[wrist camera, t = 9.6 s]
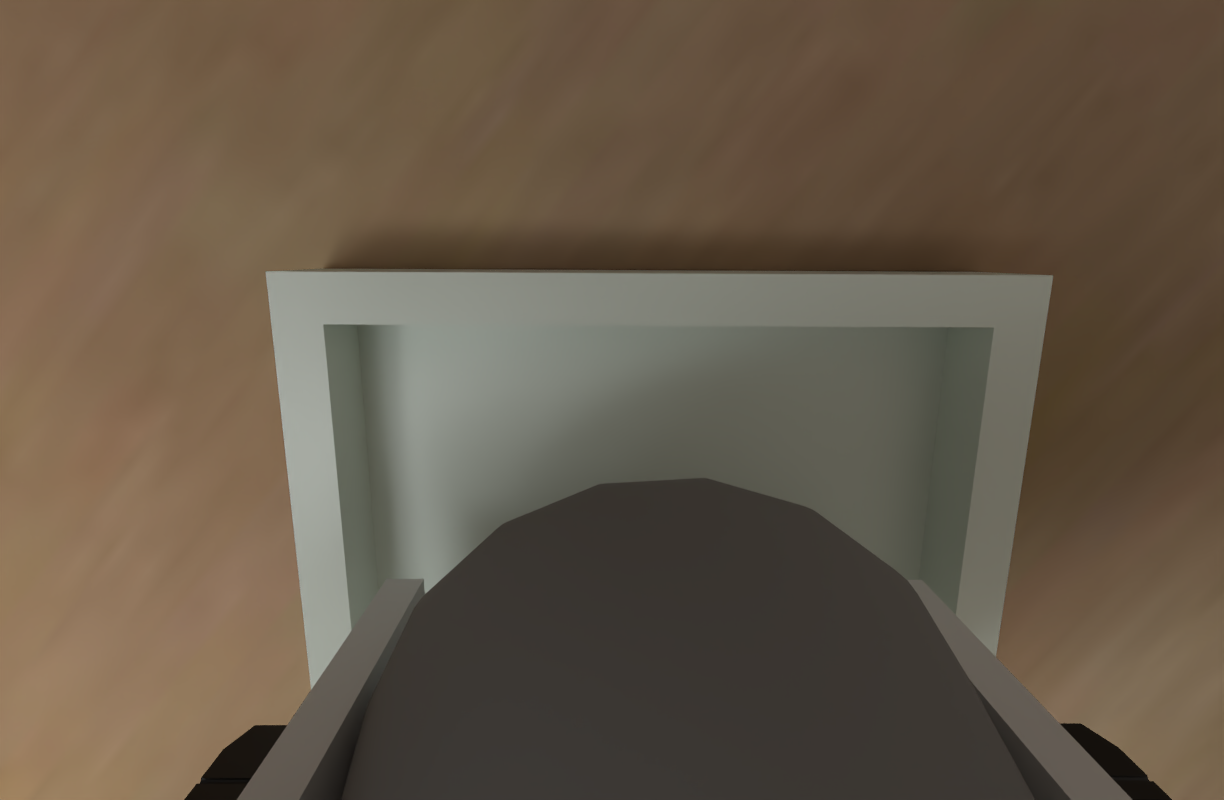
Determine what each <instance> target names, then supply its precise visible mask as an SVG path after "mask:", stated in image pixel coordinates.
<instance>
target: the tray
mask: <svg viewBox="0 0 1224 800" xmlns="http://www.w3.org/2000/svg"><path fill="white" fill-rule="evenodd" d="M266 280H267V289H268V298H269V307H270V316H271V326H272V335H273V344H274V353H275V362H276V371H277V380H278V390H279V399H280V408H281V417H282V426H283V435H284V445H285V454H286V463H287V472H288V481H289V490H290V500H291V509H292V518H293V527H294V536H295V545H296V555H297V564H298V573H299V582H300V591H301V600H302V610H303V619H304V628H305V637H306V646H307V655H308V665H309V674H310V683H311V690H312V688H313V687H314V685H315V684H316V682H317V681H318V679H319V678H320V676H321V675H322V673H323V672H324V670H325V669H326V667H327V666H328V665H329V663H330V662H331V660H332V659H333V657H334V656H335V654H336V653H337V651H338V650H339V648H340V647H341V645H342V644H343V642H344V641H345V639H346V638H347V637H348V635H349V634H350V632H351V631H352V629H353V628H354V626H355V625H356V623H357V622H358V620H359V619H360V617H361V616H362V614H363V613H364V611H365V610H366V609H367V607H368V606H369V604H370V603H371V601H372V600H373V598H374V597H375V595H376V594H377V592H378V591H379V589H380V588H381V586H382V585H383V583H384V582H385V581H386V579H424V590H425V594H426V593H427V592H428V591H429V590H430V589H431V588H432V587H434V586H435V585H436V584H437V583H438V582H439V581H440V580H441V579H442V578H443V577H444V576H446V575H447V574H448V573H449V572H450V571H451V570H452V569H453V568H454V567H455V566H457V565H458V564H459V563H460V562H461V561H462V560H463V559H464V558H465V557H466V556H468V555H469V554H470V553H471V552H472V551H473V550H474V549H475V548H476V547H477V546H478V545H480V544H481V543H482V542H483V541H484V540H485V539H486V538H487V537H488V536H489V535H491V534H492V533H493V532H494V531H495V530H496V529H497V528H498V527H500V526H501V525H502V524H504V523H506V522H508V521H510V520H513V519H515V518H518V517H520V516H523V515H525V514H527V513H530V512H532V511H535V510H537V509H540V508H542V507H545V506H547V505H549V504H552V503H554V502H557V501H559V500H562V499H564V498H566V497H569V496H571V495H574V494H576V493H579V492H581V491H584V490H586V489H588V488H591V487H593V486H596V485H598V484H605V483H622V482H640V481H658V480H676V479H693V478H708V479H711V480H715V481H718V482H722V483H725V484H729V485H732V486H736V487H739V488H743V489H746V490H750V491H753V492H757V493H760V494H764V495H767V496H771V497H774V498H778V499H781V500H785V501H788V502H792V503H795V504H799V505H802V506H805V507H808V508H810V509H812V510H814V511H816V512H817V513H819V514H820V515H821V516H823V517H824V518H825V519H827V520H828V521H829V522H831V523H832V524H833V525H835V526H836V527H838V528H839V529H840V530H842V531H843V532H844V533H846V534H847V535H848V536H850V537H851V538H852V539H854V540H855V541H857V542H858V543H859V544H861V545H862V546H863V547H865V548H866V549H867V550H869V551H870V552H871V553H873V554H874V555H876V556H877V557H878V558H880V559H881V560H882V561H884V562H885V563H886V564H888V565H889V566H890V567H892V568H893V569H895V570H896V571H897V572H898V573H899V574H901V575H902V576H903V577H904V578H905V579H906V580H923V581H924V582H925V584H926V585H927V586H928V587H929V588H930V589H931V590H932V591H933V592H934V593H935V594H936V595H937V596H938V597H939V598H940V599H941V600H942V601H943V602H944V603H945V604H946V605H947V606H948V608H949V609H950V610H951V611H952V612H953V613H954V614H955V615H956V616H957V617H958V618H959V619H960V620H961V621H962V622H963V623H964V624H965V625H966V626H967V627H968V628H969V629H970V631H971V632H972V633H973V634H974V635H975V636H976V637H977V638H978V639H979V640H980V641H981V642H982V643H983V644H984V645H985V646H986V647H987V648H988V649H989V650H990V651H991V652H992V653H993V655H994V656H995V657H996V652H997V646H998V639H999V633H1000V626H1001V619H1002V613H1003V606H1004V599H1005V593H1006V586H1007V579H1008V573H1009V566H1010V560H1011V553H1012V546H1013V540H1014V533H1015V526H1016V520H1017V513H1018V506H1019V500H1020V493H1021V486H1022V480H1023V473H1024V467H1025V460H1026V453H1027V447H1028V440H1029V433H1030V427H1031V420H1032V413H1033V407H1034V400H1035V394H1036V387H1037V380H1038V374H1039V367H1040V360H1041V354H1042V347H1043V340H1044V334H1045V327H1046V320H1047V314H1048V307H1049V301H1050V294H1051V287H1052V281H1053V275H1035V274H1014V273H993V272H905V271H708V270H511V269H303V270H283V271H266Z"/></svg>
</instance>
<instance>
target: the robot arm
mask: <svg viewBox="0 0 1224 800" xmlns="http://www.w3.org/2000/svg"><path fill="white" fill-rule="evenodd" d="M908 582H909V583H910V584H911V586H912V587H913V588H914V590H915V591H916V592H917V594H918V595H919V597H920V599H921V600H922V602H923V604H924V605H925V607H926V609H927V610H928V612H929V614H930V615H931V617H932V618H933V620H934V622H935V623H936V625H937V627H938V628H939V630H940V632H941V633H942V635H943V637H944V638H945V640H946V642H947V643H948V645H949V647H950V648H951V650H952V651H953V653H954V655H955V656H956V658H957V660H958V661H959V663H960V665H961V666H962V668H963V670H964V671H965V673H966V675H967V676H968V678H969V680H970V681H971V683H972V685H973V687H974V689H975V690H976V692H977V694H978V696H979V698H980V700H981V701H982V703H983V705H984V707H985V709H986V711H987V712H988V714H989V716H990V718H991V720H992V722H993V723H994V725H995V727H996V729H997V731H998V732H999V734H1000V736H1001V738H1002V740H1003V742H1004V743H1005V745H1006V747H1007V749H1008V751H1009V753H1010V754H1011V756H1012V758H1013V760H1014V762H1015V764H1016V765H1017V767H1018V769H1019V771H1020V773H1021V775H1022V776H1023V778H1024V780H1025V782H1026V784H1027V785H1028V787H1029V789H1030V791H1031V793H1032V795H1033V796H1034V798H1035V800H1172V799H1171V798H1170V797H1169V796H1168V795H1167V794H1166V793H1165V792H1164V791H1163V790H1162V789H1161V788H1160V787H1159V786H1158V785H1156V784H1155V783H1154V782H1153V781H1149V780H1148V778H1147V775H1146V774H1145V773H1144V772H1143V771H1142V770H1141V769H1140V768H1139V767H1138V766H1137V765H1136V764H1135V763H1134V762H1133V761H1132V760H1131V759H1130V758H1129V757H1128V756H1127V755H1126V754H1125V753H1124V752H1123V751H1121V750H1120V749H1119V748H1118V747H1117V746H1115V745H1114V744H1112V743H1111V742H1109V741H1107V740H1106V739H1104V738H1103V737H1101V736H1100V735H1098V734H1096V733H1095V732H1093V731H1092V730H1090V729H1089V728H1087V727H1086V726H1084V725H1082V724H1060V723H1059V722H1058V721H1057V720H1056V719H1055V718H1054V717H1053V716H1052V715H1051V714H1050V713H1049V712H1048V711H1047V710H1046V709H1045V708H1044V707H1043V706H1042V705H1041V704H1040V703H1039V702H1038V700H1037V699H1036V698H1035V697H1034V696H1033V695H1032V694H1031V693H1030V692H1029V691H1028V690H1027V689H1026V688H1025V687H1024V686H1023V685H1022V684H1021V683H1020V682H1019V681H1018V680H1017V679H1016V678H1015V676H1014V675H1013V674H1012V673H1011V672H1010V671H1009V670H1008V669H1007V668H1006V667H1005V666H1004V665H1003V664H1002V663H1001V662H1000V661H999V660H998V659H997V658H996V657H995V656H994V655H993V653H992V652H991V651H990V650H989V649H988V648H987V647H986V646H985V645H984V644H983V643H982V642H981V641H980V640H979V639H978V638H977V637H976V636H975V635H974V634H973V633H972V632H971V631H970V629H969V628H968V627H967V626H966V625H965V624H964V623H963V622H962V621H961V620H960V619H959V618H958V617H957V616H956V615H955V614H954V613H953V612H952V611H951V610H950V609H949V608H948V606H947V605H946V604H945V603H944V602H943V601H942V600H941V599H940V598H939V597H938V596H937V595H936V594H935V593H934V592H933V591H932V590H931V589H930V588H929V587H928V586H927V585H926V584H925V582H924V581H923V580H908ZM424 595H425V590H424V579H386V581H385V582H384V583H383V585H382V586H381V588H380V589H379V591H378V592H377V594H376V595H375V597H374V598H373V600H372V601H371V603H370V604H369V606H368V607H367V609H366V610H365V611H364V613H363V614H362V616H361V617H360V619H359V620H358V622H357V623H356V625H355V626H354V628H353V629H352V631H351V632H350V634H349V635H348V637H347V638H346V639H345V641H344V642H343V644H342V645H341V647H340V648H339V650H338V651H337V653H336V654H335V656H334V657H333V659H332V660H331V662H330V663H329V665H328V666H327V667H326V669H325V670H324V672H323V673H322V675H321V676H320V678H319V679H318V681H317V682H316V684H315V685H314V687H313V688H312V690H311V691H310V693H309V694H308V695H307V697H306V698H305V700H304V701H303V703H302V704H301V706H300V707H299V709H298V710H297V712H296V713H295V715H294V716H293V718H292V719H291V721H290V722H289V723H288V725H255V726H254V727H252V728H251V729H250V730H248V731H247V732H246V733H244V734H243V735H242V736H240V737H239V738H238V739H236V740H235V741H234V742H232V743H231V744H230V745H229V746H227V747H226V748H225V749H223V750H222V752H221V753H220V754H219V756H218V757H217V758H216V760H215V761H214V762H213V763H212V765H211V766H210V767H209V769H208V770H207V771H206V772H205V774H204V775H203V776H202V778H201V782H200V784H196V785H195V787H194V788H193V789H192V791H191V792H190V793H189V794H188V796H187V797H186V798H185V800H341V797H342V794H343V790H344V786H345V783H346V779H347V775H348V772H349V768H350V765H351V761H352V757H353V754H354V750H355V746H356V743H357V739H358V735H359V732H360V728H361V725H362V721H363V717H364V714H365V711H366V708H367V706H368V703H369V701H370V699H371V696H372V694H373V692H374V690H375V688H376V686H377V684H378V682H379V680H380V678H381V675H382V673H383V671H384V669H385V667H386V665H387V663H388V661H389V659H390V657H391V655H392V653H393V651H394V649H395V646H396V644H397V642H398V640H399V638H400V636H401V634H402V632H403V630H404V628H405V626H406V624H407V622H408V620H409V617H410V615H411V613H412V611H413V609H414V607H415V606H416V605H417V603H418V602H419V601H420V599H421V598H422V597H423V596H424Z"/></svg>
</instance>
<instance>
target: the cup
mask: <svg viewBox="0 0 1224 800" xmlns="http://www.w3.org/2000/svg"><path fill="white" fill-rule="evenodd" d="M341 800H1035V798H1034V796H1033V795H1032V793H1031V791H1030V789H1029V787H1028V785H1027V784H1026V782H1025V780H1024V778H1023V776H1022V775H1021V773H1020V771H1019V769H1018V767H1017V765H1016V764H1015V762H1014V760H1013V758H1012V756H1011V754H1010V753H1009V751H1008V749H1007V747H1006V745H1005V743H1004V742H1003V740H1002V738H1001V736H1000V734H999V732H998V731H997V729H996V727H995V725H994V723H993V722H992V720H991V718H990V716H989V714H988V712H987V711H986V709H985V707H984V705H983V703H982V701H981V700H980V698H979V696H978V694H977V692H976V690H975V689H974V687H973V685H972V683H971V681H970V680H969V678H968V676H967V675H966V673H965V671H964V670H963V668H962V666H961V665H960V663H959V661H958V660H957V658H956V656H955V655H954V653H953V651H952V650H951V648H950V647H949V645H948V643H947V642H946V640H945V638H944V637H943V635H942V633H941V632H940V630H939V628H938V627H937V625H936V623H935V622H934V620H933V618H932V617H931V615H930V614H929V612H928V610H927V609H926V607H925V605H924V604H923V602H922V600H921V599H920V597H919V595H918V594H917V592H916V591H915V590H914V588H913V587H912V586H911V584H910V583H909V582H908V580H906V579H905V578H904V577H903V576H902V575H901V574H899V573H898V572H897V571H896V570H895V569H893V568H892V567H890V566H889V565H888V564H886V563H885V562H884V561H882V560H881V559H880V558H878V557H877V556H876V555H874V554H873V553H871V552H870V551H869V550H867V549H866V548H865V547H863V546H862V545H861V544H859V543H858V542H857V541H855V540H854V539H852V538H851V537H850V536H848V535H847V534H846V533H844V532H843V531H842V530H840V529H839V528H838V527H836V526H835V525H833V524H832V523H831V522H829V521H828V520H827V519H825V518H824V517H823V516H821V515H820V514H819V513H817V512H816V511H814V510H812V509H810V508H808V507H805V506H802V505H799V504H795V503H792V502H788V501H785V500H781V499H778V498H774V497H771V496H767V495H764V494H760V493H757V492H753V491H750V490H746V489H743V488H739V487H736V486H732V485H729V484H725V483H722V482H718V481H715V480H711V479H708V478H693V479H676V480H658V481H640V482H622V483H605V484H598V485H596V486H593V487H591V488H588V489H586V490H584V491H581V492H579V493H576V494H574V495H571V496H569V497H566V498H564V499H562V500H559V501H557V502H554V503H552V504H549V505H547V506H545V507H542V508H540V509H537V510H535V511H532V512H530V513H527V514H525V515H523V516H520V517H518V518H515V519H513V520H510V521H508V522H506V523H504V524H502V525H501V526H500V527H498V528H497V529H496V530H495V531H494V532H493V533H492V534H491V535H489V536H488V537H487V538H486V539H485V540H484V541H483V542H482V543H481V544H480V545H478V546H477V547H476V548H475V549H474V550H473V551H472V552H471V553H470V554H469V555H468V556H466V557H465V558H464V559H463V560H462V561H461V562H460V563H459V564H458V565H457V566H455V567H454V568H453V569H452V570H451V571H450V572H449V573H448V574H447V575H446V576H444V577H443V578H442V579H441V580H440V581H439V582H438V583H437V584H436V585H435V586H434V587H432V588H431V589H430V590H429V591H428V592H427V593H426V594H425V595H424V596H423V597H422V598H421V599H420V601H419V602H418V603H417V605H416V606H415V607H414V609H413V611H412V613H411V615H410V617H409V620H408V622H407V624H406V626H405V628H404V630H403V632H402V634H401V636H400V638H399V640H398V642H397V644H396V646H395V649H394V651H393V653H392V655H391V657H390V659H389V661H388V663H387V665H386V667H385V669H384V671H383V673H382V675H381V678H380V680H379V682H378V684H377V686H376V688H375V690H374V692H373V694H372V696H371V699H370V701H369V703H368V706H367V708H366V711H365V714H364V717H363V721H362V725H361V728H360V732H359V735H358V739H357V743H356V746H355V750H354V754H353V757H352V761H351V765H350V768H349V772H348V775H347V779H346V783H345V786H344V790H343V794H342V797H341Z"/></svg>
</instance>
